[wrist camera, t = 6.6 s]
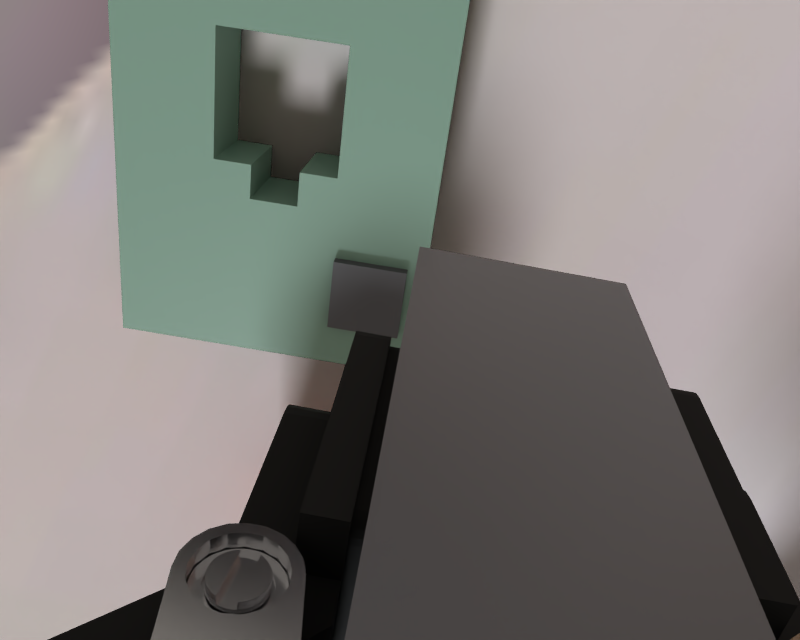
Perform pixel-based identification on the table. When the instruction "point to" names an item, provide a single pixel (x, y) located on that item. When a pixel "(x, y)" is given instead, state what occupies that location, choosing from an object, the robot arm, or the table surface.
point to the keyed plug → (540, 474)
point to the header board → (273, 197)
